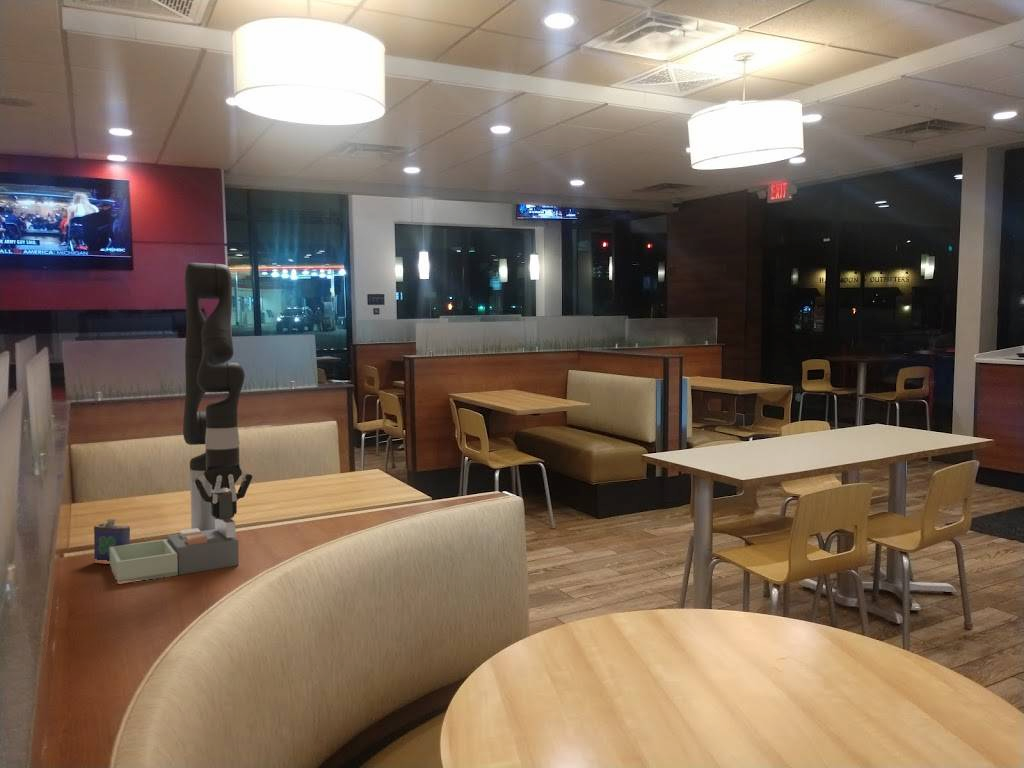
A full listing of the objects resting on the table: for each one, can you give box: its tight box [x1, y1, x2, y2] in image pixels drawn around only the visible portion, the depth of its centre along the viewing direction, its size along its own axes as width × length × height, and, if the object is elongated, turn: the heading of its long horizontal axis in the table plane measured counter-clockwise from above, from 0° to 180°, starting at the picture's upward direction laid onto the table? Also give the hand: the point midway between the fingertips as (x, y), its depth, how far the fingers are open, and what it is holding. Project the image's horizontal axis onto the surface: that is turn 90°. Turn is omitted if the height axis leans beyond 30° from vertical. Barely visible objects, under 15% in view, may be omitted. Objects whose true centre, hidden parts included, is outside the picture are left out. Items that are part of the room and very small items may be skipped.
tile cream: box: [179, 528, 201, 539], centre depth 179 cm, size 4×4×1 cm
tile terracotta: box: [185, 534, 207, 545], centre depth 173 cm, size 4×4×1 cm
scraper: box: [215, 491, 237, 538], centre depth 179 cm, size 12×3×10 cm, turn 34°
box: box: [109, 539, 179, 583], centre depth 170 cm, size 15×12×5 cm
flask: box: [93, 518, 131, 561], centre depth 177 cm, size 9×3×11 cm, turn 78°
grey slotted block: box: [166, 529, 240, 576], centre depth 177 cm, size 14×13×6 cm
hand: (223, 517), depth 180 cm, fingers closed on scraper, 3 cm apart
